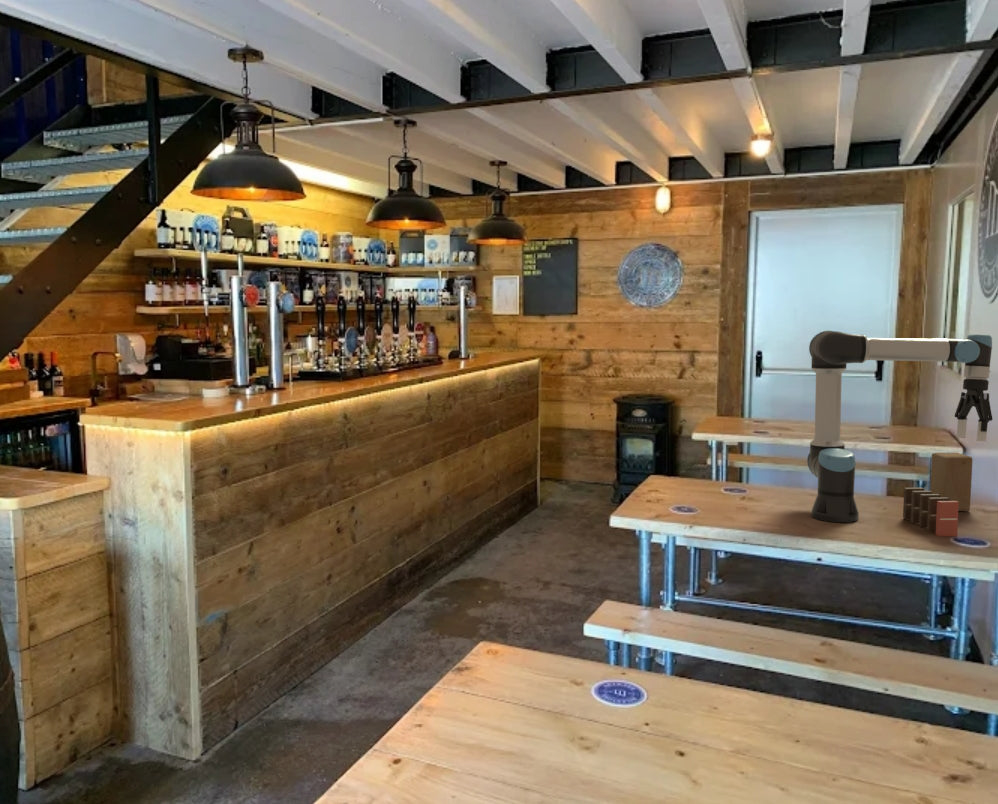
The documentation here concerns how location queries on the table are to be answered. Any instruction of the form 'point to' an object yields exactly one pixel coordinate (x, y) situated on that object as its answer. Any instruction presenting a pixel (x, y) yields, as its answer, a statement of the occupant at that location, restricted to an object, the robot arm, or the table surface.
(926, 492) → the tile
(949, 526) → the end tile
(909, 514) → the tile
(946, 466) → the wooden block
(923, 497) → the tile
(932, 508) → the tile
